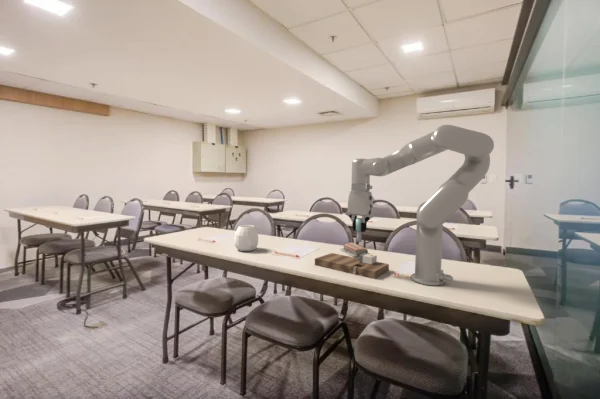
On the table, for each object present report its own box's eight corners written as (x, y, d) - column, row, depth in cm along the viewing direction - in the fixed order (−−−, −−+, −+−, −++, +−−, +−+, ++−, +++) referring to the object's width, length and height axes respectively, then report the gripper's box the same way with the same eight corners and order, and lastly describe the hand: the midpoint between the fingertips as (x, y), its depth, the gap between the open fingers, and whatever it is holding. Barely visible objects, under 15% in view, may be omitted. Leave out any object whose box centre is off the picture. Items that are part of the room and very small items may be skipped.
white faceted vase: (230, 249, 171) (230, 225, 170) (251, 246, 179) (251, 223, 178) (241, 253, 161) (241, 228, 160) (262, 250, 169) (262, 226, 168)
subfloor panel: (388, 270, 133) (389, 263, 133) (374, 279, 122) (374, 271, 122) (331, 258, 152) (331, 252, 152) (314, 265, 141) (314, 258, 141)
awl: (364, 241, 130) (364, 218, 129) (360, 242, 127) (361, 219, 127) (357, 240, 132) (358, 217, 131) (353, 241, 129) (354, 218, 129)
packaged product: (371, 248, 157) (354, 249, 154) (371, 257, 157) (353, 258, 154) (356, 241, 174) (339, 242, 171) (355, 249, 174) (339, 250, 172)
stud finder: (376, 262, 135) (376, 255, 135) (371, 264, 131) (371, 257, 131) (364, 259, 139) (364, 252, 139) (359, 262, 135) (359, 254, 135)
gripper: (382, 188, 126) (381, 232, 127) (347, 187, 136) (347, 227, 137) (374, 189, 120) (373, 234, 121) (339, 187, 130) (338, 230, 132)
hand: (359, 230), depth 129 cm, fingers closed on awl, 3 cm apart
